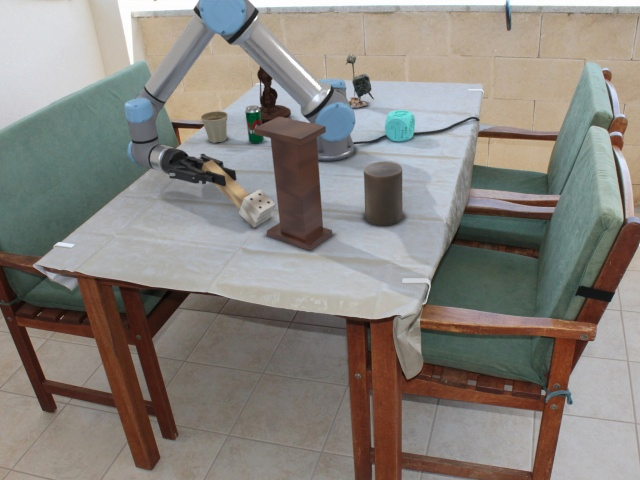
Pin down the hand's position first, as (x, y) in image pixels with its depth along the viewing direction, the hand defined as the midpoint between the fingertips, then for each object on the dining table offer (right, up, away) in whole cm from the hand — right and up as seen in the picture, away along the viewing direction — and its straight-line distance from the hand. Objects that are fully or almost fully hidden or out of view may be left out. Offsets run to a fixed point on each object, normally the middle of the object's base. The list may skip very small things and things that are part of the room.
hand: (229, 178), depth 169 cm
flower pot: (-12, +21, +54) cm, 59 cm away
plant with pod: (+39, +38, +76) cm, 93 cm away
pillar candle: (+40, -10, -1) cm, 42 cm away
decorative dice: (+50, +20, +45) cm, 71 cm away
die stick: (+1, -4, +3) cm, 5 cm away
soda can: (+2, +19, +50) cm, 54 cm away
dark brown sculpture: (+6, +31, +69) cm, 76 cm away
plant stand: (+19, -15, -7) cm, 25 cm away
